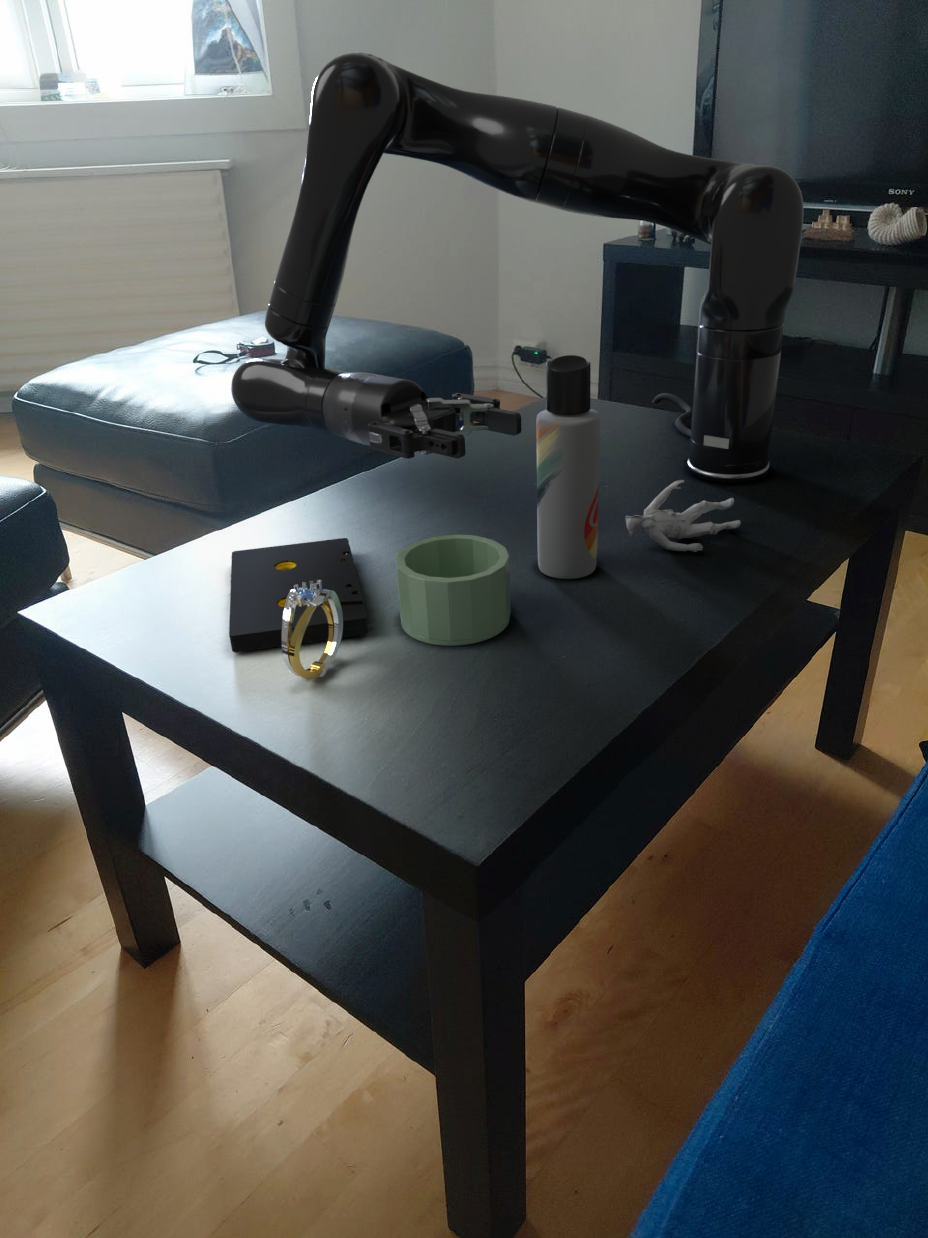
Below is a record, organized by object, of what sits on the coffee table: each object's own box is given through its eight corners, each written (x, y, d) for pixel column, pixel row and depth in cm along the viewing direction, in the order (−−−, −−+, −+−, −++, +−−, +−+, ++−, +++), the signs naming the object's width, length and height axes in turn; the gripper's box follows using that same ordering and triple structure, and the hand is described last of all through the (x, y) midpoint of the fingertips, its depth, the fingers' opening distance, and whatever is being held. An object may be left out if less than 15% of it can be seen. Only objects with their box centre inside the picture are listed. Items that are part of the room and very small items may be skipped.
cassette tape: (369, 637, 81) (366, 614, 80) (232, 655, 79) (228, 633, 78) (349, 554, 97) (347, 534, 96) (234, 568, 95) (231, 548, 94)
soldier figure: (750, 550, 95) (664, 543, 89) (716, 570, 99) (631, 563, 92) (730, 482, 98) (645, 469, 91) (697, 503, 101) (613, 493, 95)
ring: (328, 650, 79) (317, 564, 75) (360, 658, 78) (350, 571, 74) (276, 691, 74) (261, 600, 70) (308, 701, 72) (295, 608, 69)
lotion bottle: (602, 558, 93) (607, 352, 83) (589, 583, 88) (593, 367, 79) (546, 553, 95) (545, 350, 85) (531, 577, 90) (528, 365, 80)
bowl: (397, 600, 87) (391, 540, 84) (499, 589, 88) (497, 529, 85) (406, 651, 78) (400, 586, 76) (519, 639, 79) (518, 574, 77)
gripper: (320, 390, 94) (440, 415, 85) (418, 361, 104) (536, 380, 94) (329, 462, 98) (445, 493, 88) (423, 428, 107) (537, 453, 98)
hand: (492, 435), depth 91 cm, fingers open, 8 cm apart
